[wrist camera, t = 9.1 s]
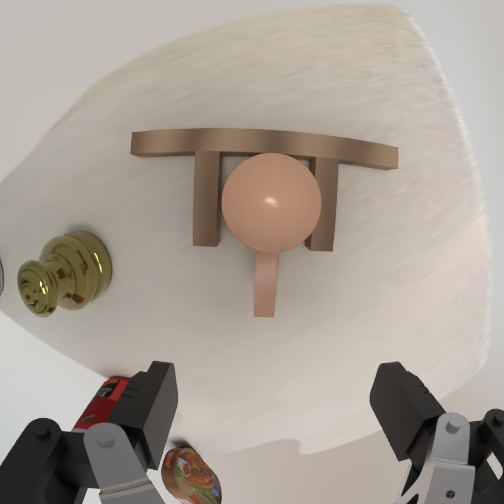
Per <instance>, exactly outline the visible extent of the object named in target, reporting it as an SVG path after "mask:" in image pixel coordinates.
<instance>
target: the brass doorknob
mask: <svg viewBox="0 0 504 504" xmlns="http://www.w3.org/2000/svg"><path fill="white" fill-rule="evenodd" d="M110 278H111V263H110V258H109V255H108V253H107V251H106V249H105V247H104V245H103V244H102V243H101V242H100V240H99V239H97V238H96V237H95V236H94V235H92V234H90V233H87V232H82V231H80V232H75V233H69V234H65V235H63V236H59V237H55V238H53V239H51V240H50V241H48V242H47V243H46V244H45V246H44V247H43V249H42V251H41V254H40V258H39V262H38V261H35V260H29V261H27V262H25V263H24V264H22V266H21V267H20V269H19V272H18V289H19V292H20V295H21V298H22V300H23V302H24V304H25V305H26V306H27V308H28V309H29V310H30V311H31V312H32V313H34V314H35V315H37V316H39V317H48V316H50V315H51V314H53V313H54V311H55V309H56V307H57V305H58V306H60V307H62V308H64V309H67V310H79V309H82V308H84V307H85V306H86V305H87V304H88V303H89V302H91V301H93V300H94V299H96V298H97V297H98V295H100V294H101V293H102V292H104V291H105V289H106V288H107V286H108V284H109V282H110Z"/></svg>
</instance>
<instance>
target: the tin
mask: <svg viewBox="0 0 504 504" xmlns="http://www.w3.org/2000/svg"><path fill="white" fill-rule="evenodd" d="M161 475H162V480H163V483H164V485H165V487H166V489H167V490H168V491H169V492H170V493H171V494H172V495H173V496H174V497H175V498H177V499H178V500H179V501H181V502H182V503H183V504H221V500H222V492H221V486H220V482H219V480H218V478H217V476H216V475H215V473H214V472H213V471H212V470H211V469H210V468H209V467H208V466H207V465H206V463H205V462H204V461H203V460H202V458H201V457H200V456H199V455H198V454H197V452H196V451H195V450H193V449H192V448H188V447H187V448H175V449H171V450H169V451H168V452H167V454H166V456H165V458H164V461H163V464H162V468H161Z"/></svg>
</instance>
